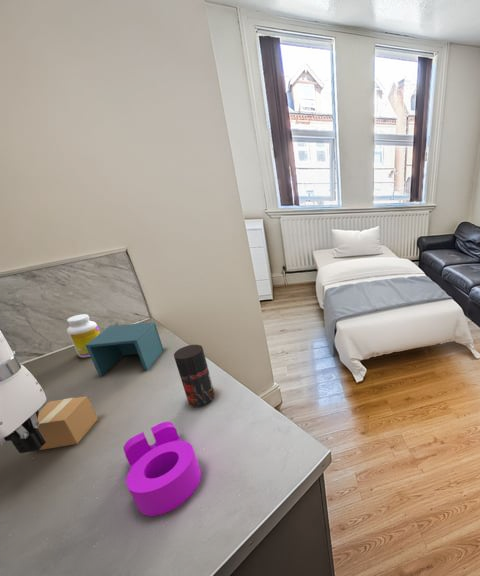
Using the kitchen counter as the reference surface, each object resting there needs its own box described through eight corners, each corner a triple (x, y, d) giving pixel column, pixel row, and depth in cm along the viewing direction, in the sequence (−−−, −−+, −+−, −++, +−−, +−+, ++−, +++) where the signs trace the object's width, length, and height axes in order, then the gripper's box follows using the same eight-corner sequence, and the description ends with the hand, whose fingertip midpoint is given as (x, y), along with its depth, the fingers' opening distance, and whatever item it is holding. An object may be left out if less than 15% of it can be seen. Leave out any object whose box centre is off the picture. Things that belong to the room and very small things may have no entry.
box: (77, 444, 62) (64, 419, 60) (37, 450, 61) (21, 426, 58) (98, 418, 69) (87, 395, 66) (62, 424, 67) (49, 400, 64)
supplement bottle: (110, 350, 94) (95, 316, 89) (82, 361, 89) (65, 325, 84) (102, 344, 97) (88, 310, 92) (75, 353, 92) (59, 318, 87)
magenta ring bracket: (208, 485, 55) (201, 462, 52) (144, 529, 48) (132, 505, 46) (182, 436, 65) (175, 415, 62) (126, 467, 58) (115, 445, 55)
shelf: (147, 370, 85) (136, 340, 81) (99, 376, 83) (85, 345, 79) (163, 349, 95) (154, 321, 91) (120, 354, 92) (109, 325, 88)
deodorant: (218, 398, 75) (206, 351, 70) (192, 411, 71) (177, 362, 66) (210, 387, 79) (198, 341, 73) (185, 399, 75) (170, 351, 69)
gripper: (-1, 351, 55) (41, 421, 62) (-100, 409, 42) (-32, 490, 49) (47, 346, 57) (82, 415, 64) (-33, 400, 44) (23, 480, 51)
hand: (33, 448), depth 56 cm, fingers closed
